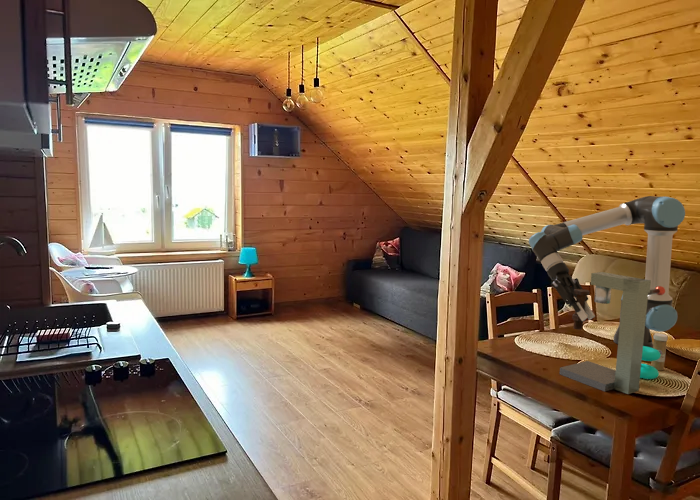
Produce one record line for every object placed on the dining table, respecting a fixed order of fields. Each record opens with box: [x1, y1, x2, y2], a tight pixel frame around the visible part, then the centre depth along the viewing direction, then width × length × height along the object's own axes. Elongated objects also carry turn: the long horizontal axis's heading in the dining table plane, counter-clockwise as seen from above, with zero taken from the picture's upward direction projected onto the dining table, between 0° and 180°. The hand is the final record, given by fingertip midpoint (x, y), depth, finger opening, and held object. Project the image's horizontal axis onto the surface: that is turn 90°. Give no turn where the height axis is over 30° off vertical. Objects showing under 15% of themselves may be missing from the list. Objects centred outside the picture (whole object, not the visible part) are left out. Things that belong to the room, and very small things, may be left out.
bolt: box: [571, 288, 591, 331], centre depth 198 cm, size 6×5×15 cm
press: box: [559, 271, 665, 395], centre depth 186 cm, size 24×24×38 cm
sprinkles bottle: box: [650, 332, 669, 371], centre depth 199 cm, size 5×5×13 cm
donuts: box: [640, 346, 661, 380], centre depth 192 cm, size 10×10×10 cm
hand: (588, 318), depth 195 cm, fingers closed on bolt, 3 cm apart
